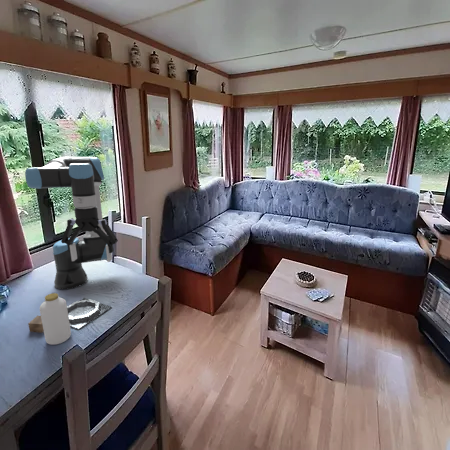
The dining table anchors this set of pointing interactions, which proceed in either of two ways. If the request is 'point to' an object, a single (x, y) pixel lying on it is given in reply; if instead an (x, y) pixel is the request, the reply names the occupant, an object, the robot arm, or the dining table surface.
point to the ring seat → (85, 312)
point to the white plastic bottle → (55, 319)
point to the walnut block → (36, 325)
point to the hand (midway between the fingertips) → (92, 260)
